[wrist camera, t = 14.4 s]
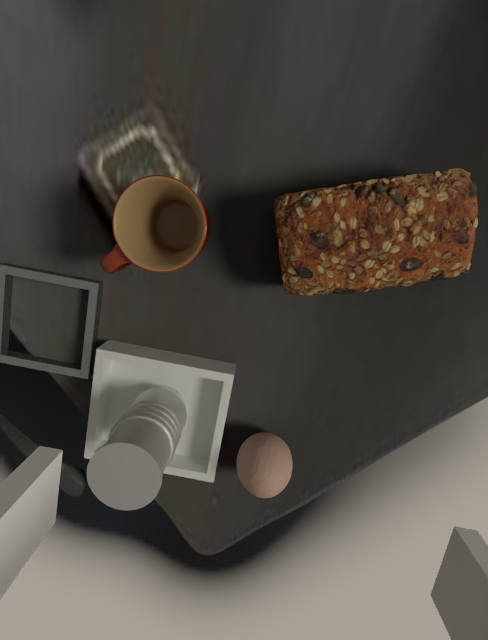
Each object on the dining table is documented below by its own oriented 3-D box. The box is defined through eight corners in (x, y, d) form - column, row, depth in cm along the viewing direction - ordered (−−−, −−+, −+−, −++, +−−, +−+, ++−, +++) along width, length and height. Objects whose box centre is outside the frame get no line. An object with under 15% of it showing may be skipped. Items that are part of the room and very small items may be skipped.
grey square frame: (5, 263, 49) (-3, 264, 48) (103, 281, 49) (98, 283, 48) (-1, 357, 52) (-9, 360, 51) (92, 375, 52) (87, 379, 51)
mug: (189, 171, 46) (170, 154, 36) (232, 237, 48) (225, 238, 38) (106, 231, 48) (65, 231, 38) (150, 293, 50) (121, 309, 40)
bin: (109, 339, 51) (96, 348, 47) (236, 364, 51) (234, 375, 47) (96, 441, 54) (83, 457, 50) (216, 464, 54) (213, 482, 50)
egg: (300, 450, 53) (307, 495, 44) (258, 477, 54) (257, 525, 45) (270, 411, 52) (272, 448, 43) (228, 438, 53) (221, 480, 44)
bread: (438, 176, 46) (486, 161, 36) (440, 272, 48) (486, 283, 38) (270, 198, 47) (273, 189, 37) (280, 290, 49) (285, 305, 39)
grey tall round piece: (141, 374, 51) (93, 432, 36) (196, 390, 51) (170, 454, 36) (129, 424, 52) (78, 499, 37) (182, 438, 52) (152, 519, 38)
